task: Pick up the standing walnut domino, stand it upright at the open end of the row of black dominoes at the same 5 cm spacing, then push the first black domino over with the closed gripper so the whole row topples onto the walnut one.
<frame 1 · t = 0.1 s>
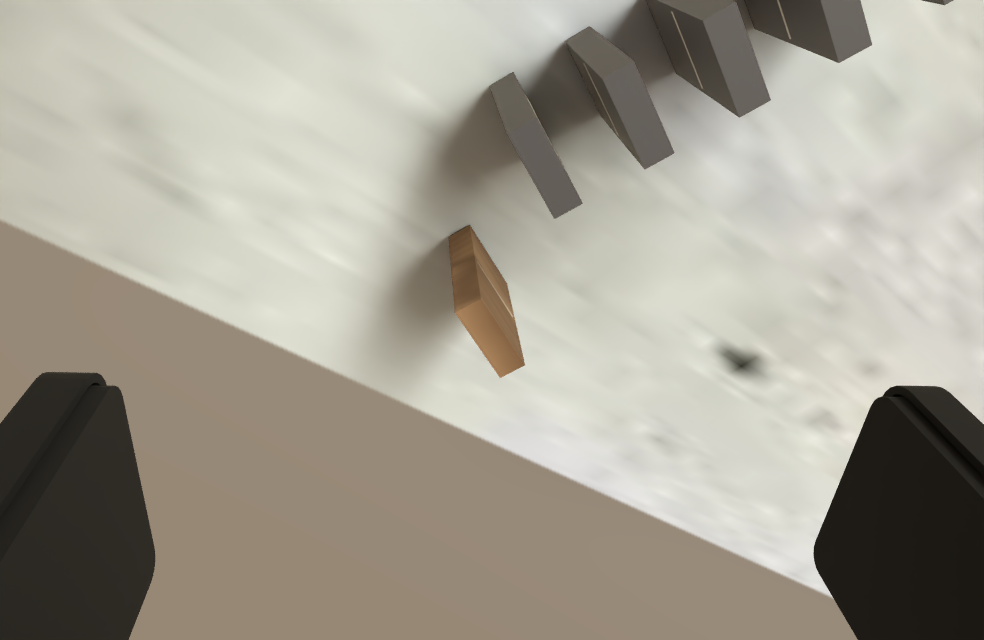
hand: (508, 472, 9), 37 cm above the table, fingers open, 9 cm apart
domino 6: (478, 260, 49), on the table
domino 3: (673, 27, 42), on the table
domino 5: (521, 115, 44), on the table
domino 4: (595, 72, 43), on the table
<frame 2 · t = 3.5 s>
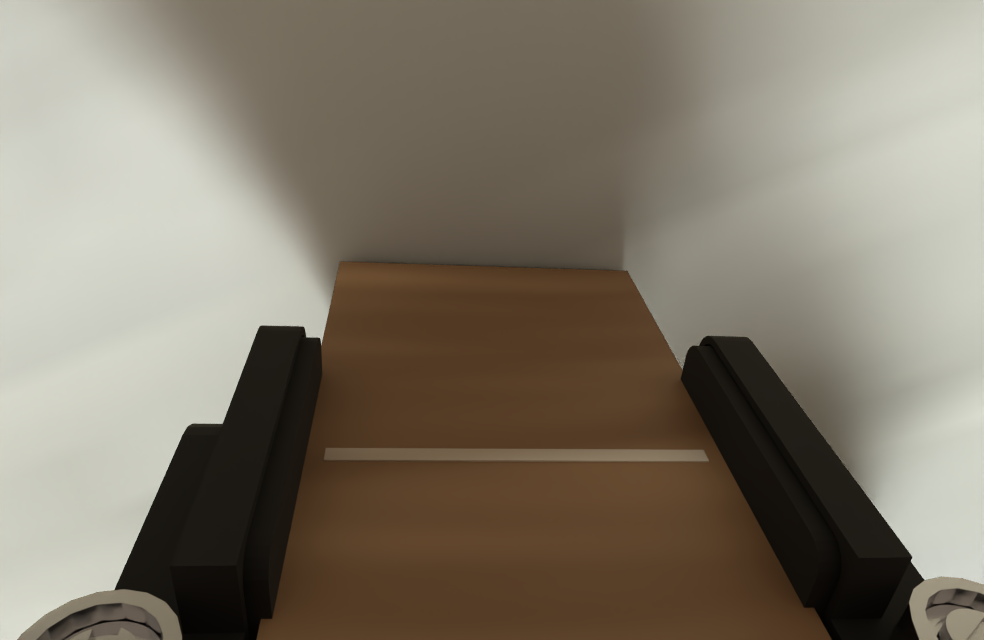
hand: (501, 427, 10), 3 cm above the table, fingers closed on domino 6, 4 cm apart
domino 6: (483, 306, 13), on the table, touching gripper
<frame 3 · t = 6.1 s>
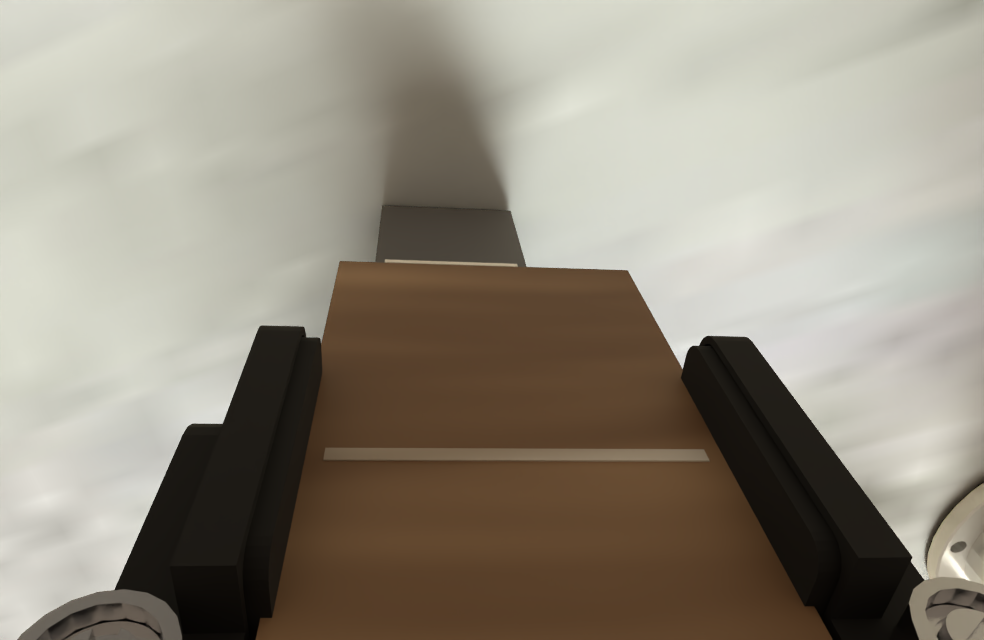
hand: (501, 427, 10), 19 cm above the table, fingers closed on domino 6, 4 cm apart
domino 6: (483, 306, 13), point 16 cm above the table, touching gripper
domino 5: (446, 227, 29), on the table
when the fingers open (4 cm above the table, at t = 9.1 s): domino 6 stays where it is, on the table.
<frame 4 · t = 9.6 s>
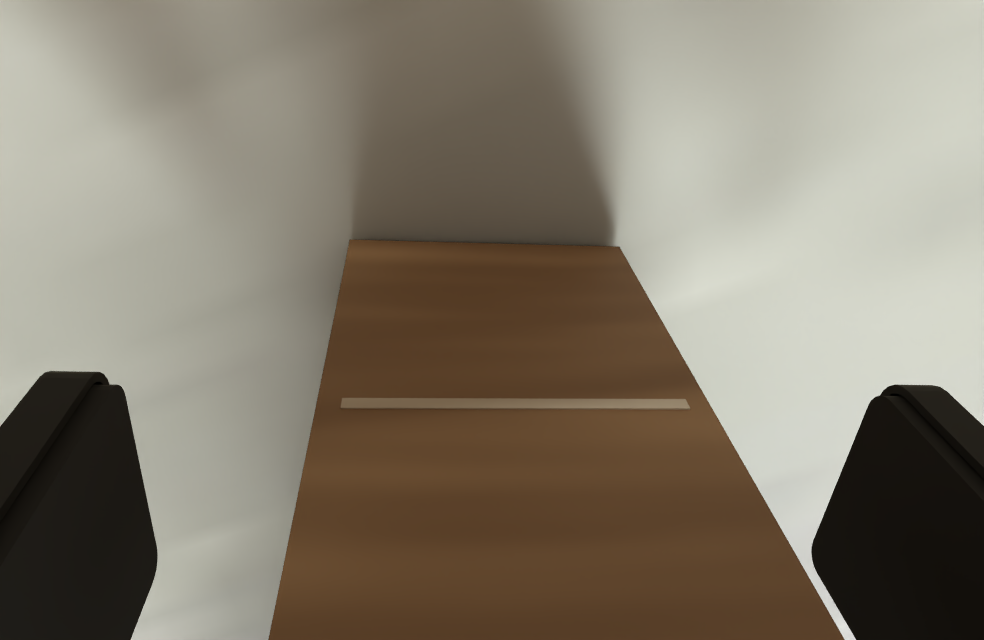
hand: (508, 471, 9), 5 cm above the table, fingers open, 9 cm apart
domino 6: (484, 281, 14), on the table
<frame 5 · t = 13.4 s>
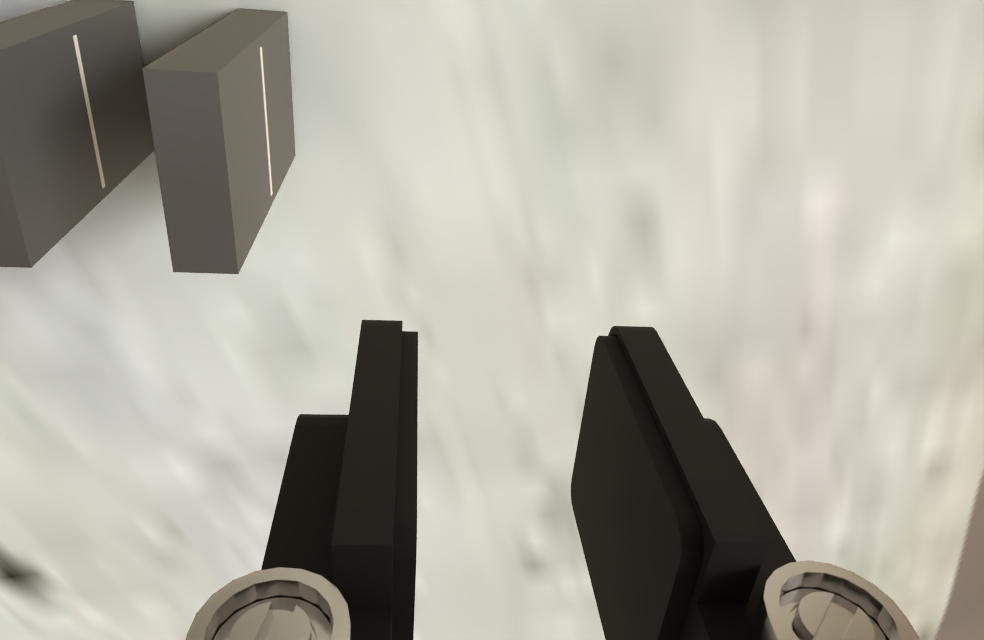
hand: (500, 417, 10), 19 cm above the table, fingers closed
domino 1: (268, 85, 26), on the table
domino 2: (121, 77, 26), on the table
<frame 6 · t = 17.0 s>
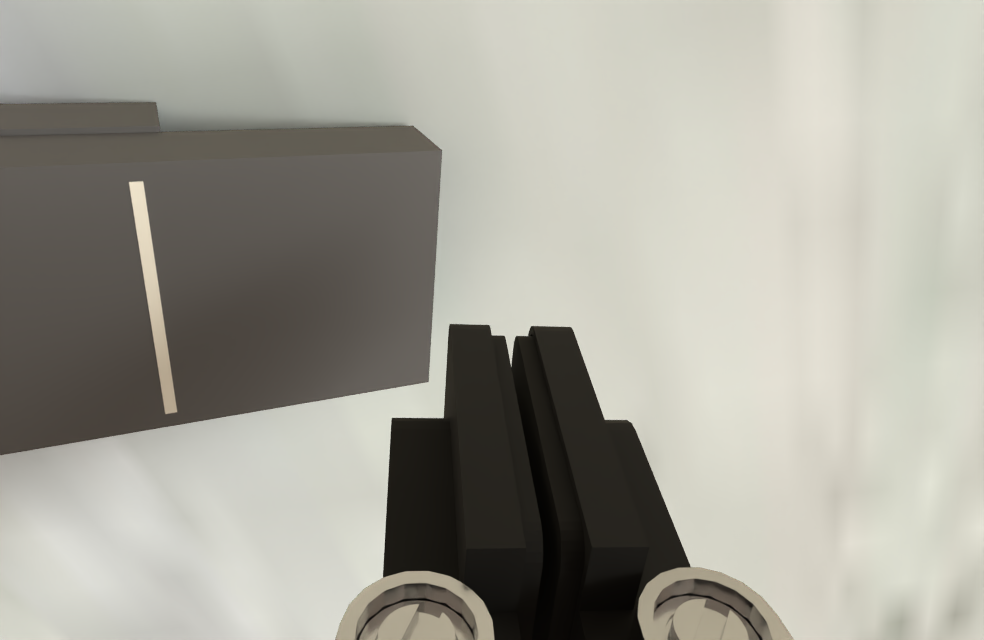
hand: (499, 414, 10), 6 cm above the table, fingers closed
domino 1: (421, 259, 15), point 1 cm above the table, tilted 71°, touching domino 2
domino 2: (175, 241, 14), point 1 cm above the table, tilted 71°, touching domino 1, domino 3
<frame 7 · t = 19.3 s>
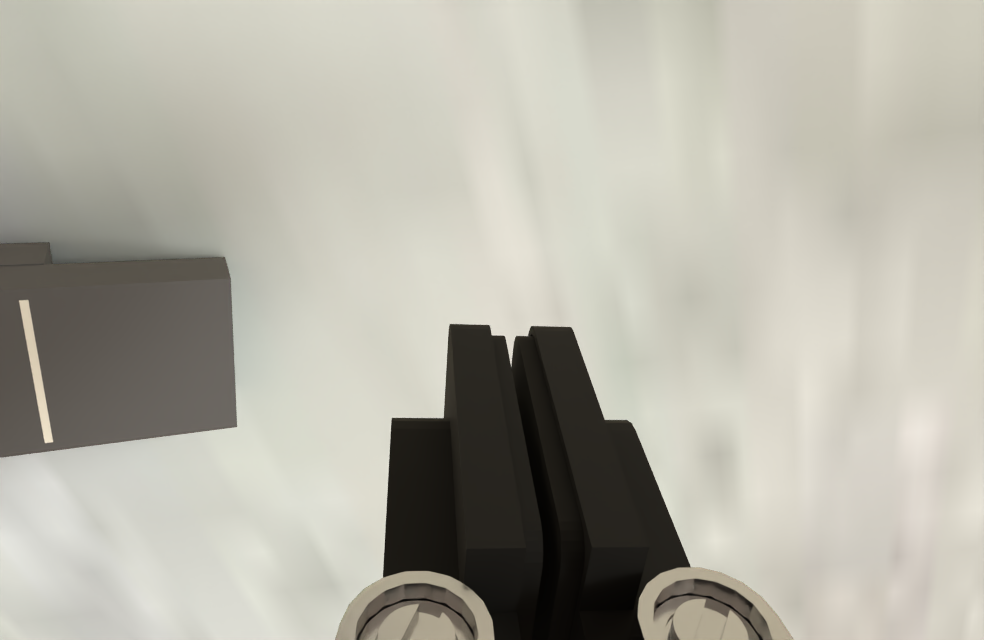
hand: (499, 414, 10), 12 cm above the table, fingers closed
domino 1: (231, 343, 22), point 1 cm above the table, tilted 71°, touching domino 2
domino 2: (59, 331, 22), point 1 cm above the table, tilted 71°, touching domino 1
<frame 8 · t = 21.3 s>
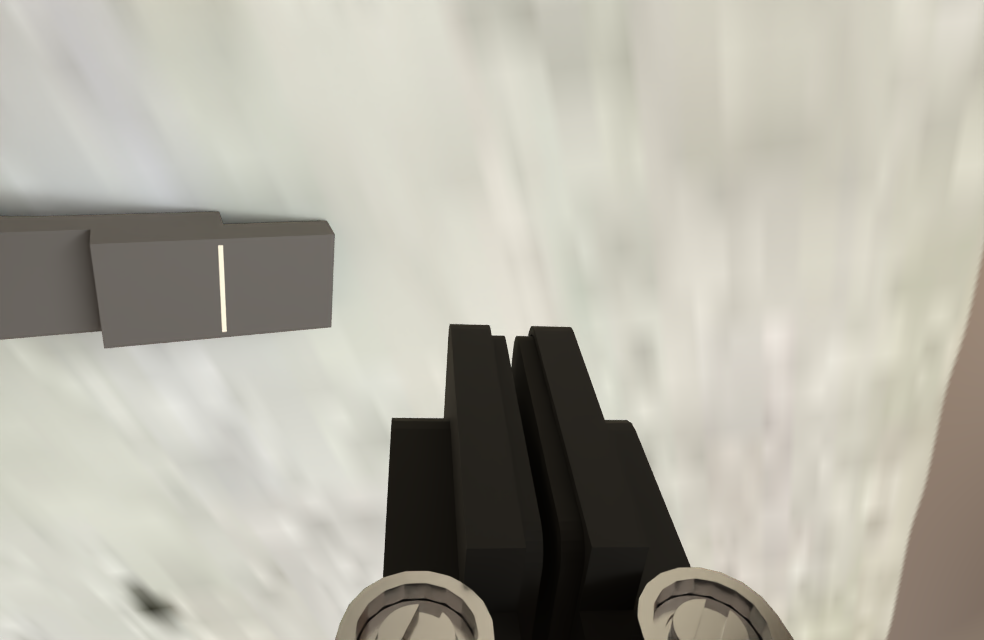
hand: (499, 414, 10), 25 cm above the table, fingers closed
domino 1: (329, 274, 36), point 1 cm above the table, tilted 71°, touching domino 2
domino 2: (223, 266, 35), point 1 cm above the table, tilted 71°, touching domino 1, domino 3
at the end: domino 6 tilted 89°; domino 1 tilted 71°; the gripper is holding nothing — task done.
